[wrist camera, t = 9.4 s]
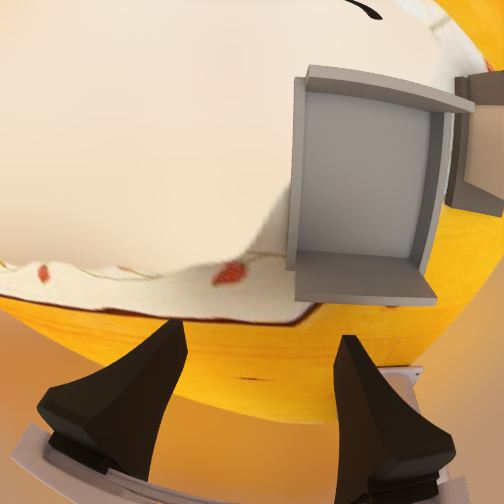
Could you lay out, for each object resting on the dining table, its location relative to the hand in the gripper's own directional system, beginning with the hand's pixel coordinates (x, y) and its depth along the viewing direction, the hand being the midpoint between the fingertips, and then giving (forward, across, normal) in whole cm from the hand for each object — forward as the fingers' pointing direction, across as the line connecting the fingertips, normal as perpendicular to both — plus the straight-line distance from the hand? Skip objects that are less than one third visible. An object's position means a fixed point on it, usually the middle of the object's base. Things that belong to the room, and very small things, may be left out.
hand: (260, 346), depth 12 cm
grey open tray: (+10, -6, -6) cm, 13 cm away
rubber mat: (+10, -16, -10) cm, 21 cm away
